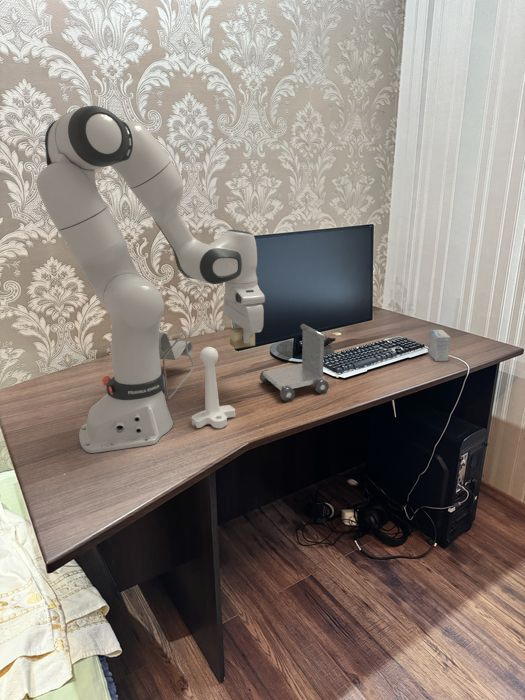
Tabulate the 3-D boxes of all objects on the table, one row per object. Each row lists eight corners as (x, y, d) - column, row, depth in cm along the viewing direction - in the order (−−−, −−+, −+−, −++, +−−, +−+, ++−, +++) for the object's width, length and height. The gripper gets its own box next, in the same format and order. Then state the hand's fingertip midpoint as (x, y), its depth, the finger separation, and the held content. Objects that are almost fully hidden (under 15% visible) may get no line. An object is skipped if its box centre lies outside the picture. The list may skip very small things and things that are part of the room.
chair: (122, 399, 132) (113, 334, 125) (156, 366, 155) (150, 309, 148) (167, 403, 129) (160, 336, 122) (194, 368, 152) (190, 311, 146)
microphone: (330, 347, 178) (298, 355, 164) (328, 332, 178) (295, 339, 164) (342, 345, 175) (310, 353, 160) (339, 330, 174) (308, 337, 160)
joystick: (227, 410, 124) (224, 340, 117) (242, 422, 118) (239, 348, 111) (189, 422, 119) (183, 349, 112) (202, 435, 113) (197, 358, 106)
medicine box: (448, 361, 154) (451, 336, 151) (434, 361, 154) (437, 337, 151) (440, 353, 162) (443, 329, 159) (427, 353, 162) (429, 329, 159)
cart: (282, 403, 128) (282, 344, 122) (259, 383, 140) (258, 329, 134) (328, 392, 134) (330, 336, 127) (302, 374, 146) (303, 322, 140)
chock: (235, 348, 128) (234, 333, 126) (230, 344, 131) (229, 329, 130) (255, 345, 130) (254, 330, 129) (249, 341, 134) (249, 326, 132)
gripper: (217, 284, 133) (218, 330, 138) (245, 300, 116) (246, 352, 120) (237, 282, 135) (238, 327, 140) (267, 297, 118) (267, 348, 123)
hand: (242, 339), depth 130 cm, fingers closed on chock, 4 cm apart
